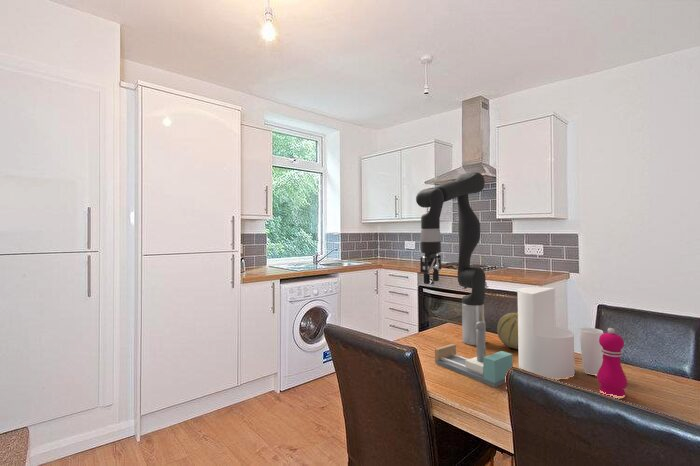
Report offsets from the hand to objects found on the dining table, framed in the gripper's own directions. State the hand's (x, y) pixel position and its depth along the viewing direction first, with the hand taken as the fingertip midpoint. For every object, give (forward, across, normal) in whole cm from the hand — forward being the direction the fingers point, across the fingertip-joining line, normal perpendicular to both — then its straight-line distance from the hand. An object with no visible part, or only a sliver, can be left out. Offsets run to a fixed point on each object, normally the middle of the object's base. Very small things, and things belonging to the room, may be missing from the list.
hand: (431, 282), depth 134 cm
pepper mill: (+30, +3, -56) cm, 63 cm away
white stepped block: (+30, +13, -37) cm, 49 cm away
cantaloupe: (+30, +32, -23) cm, 50 cm away
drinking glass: (+30, +18, -50) cm, 61 cm away
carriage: (+27, -4, -19) cm, 34 cm away
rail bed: (+30, -2, -16) cm, 34 cm away
